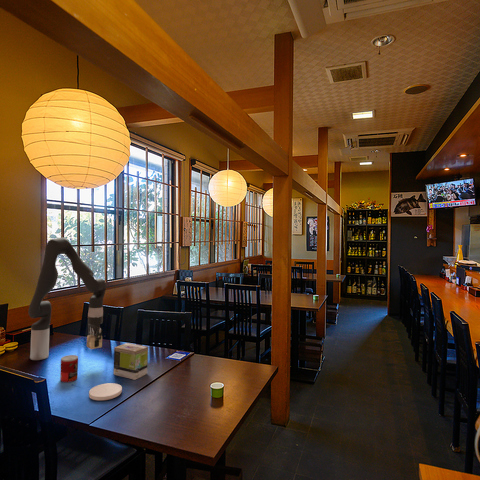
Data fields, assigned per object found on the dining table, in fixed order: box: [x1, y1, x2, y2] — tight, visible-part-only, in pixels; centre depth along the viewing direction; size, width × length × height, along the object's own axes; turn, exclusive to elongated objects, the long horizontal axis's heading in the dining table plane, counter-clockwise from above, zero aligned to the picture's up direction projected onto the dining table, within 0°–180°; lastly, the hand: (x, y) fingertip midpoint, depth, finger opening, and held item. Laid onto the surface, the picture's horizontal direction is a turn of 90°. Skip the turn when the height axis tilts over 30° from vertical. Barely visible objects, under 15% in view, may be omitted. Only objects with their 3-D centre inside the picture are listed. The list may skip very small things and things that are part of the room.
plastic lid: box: [88, 382, 123, 401], centre depth 149 cm, size 14×14×2 cm
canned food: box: [59, 354, 79, 383], centre depth 164 cm, size 8×8×11 cm
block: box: [86, 335, 103, 350], centre depth 181 cm, size 6×6×6 cm
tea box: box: [113, 342, 149, 381], centre depth 173 cm, size 15×10×15 cm
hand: (94, 344), depth 181 cm, fingers closed on block, 6 cm apart
